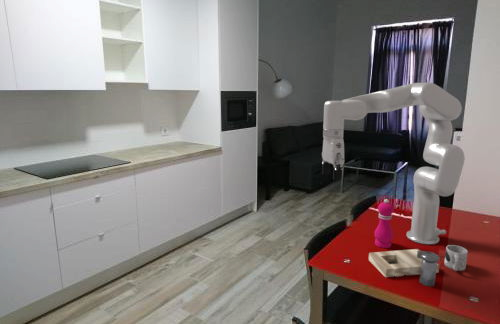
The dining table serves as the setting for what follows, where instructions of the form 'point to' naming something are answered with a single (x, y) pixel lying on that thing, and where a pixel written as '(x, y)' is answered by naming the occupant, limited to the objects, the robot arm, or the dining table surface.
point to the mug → (456, 257)
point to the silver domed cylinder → (428, 268)
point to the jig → (398, 262)
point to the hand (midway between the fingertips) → (331, 176)
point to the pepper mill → (384, 225)
